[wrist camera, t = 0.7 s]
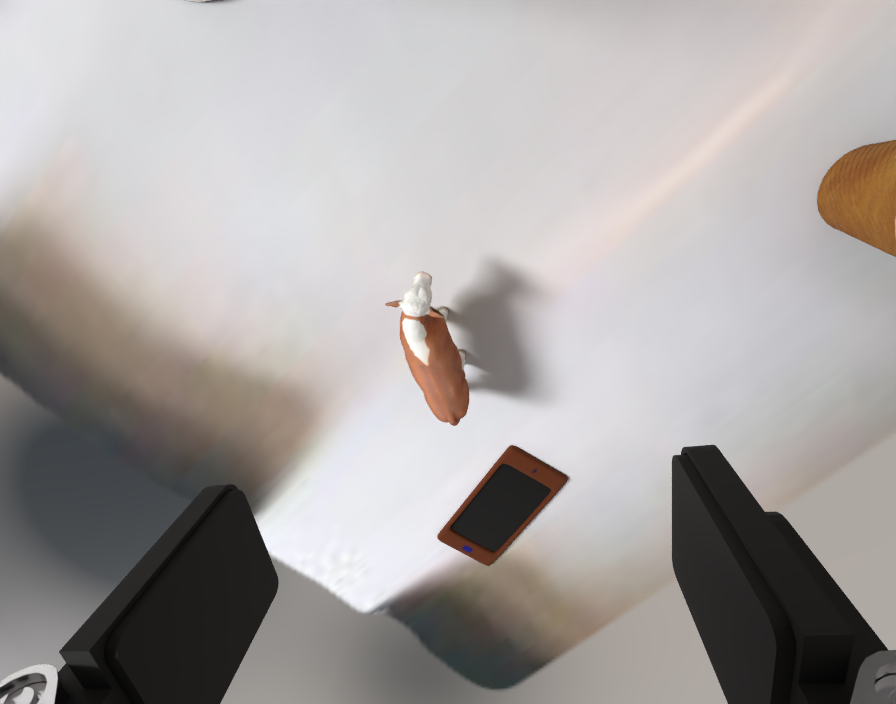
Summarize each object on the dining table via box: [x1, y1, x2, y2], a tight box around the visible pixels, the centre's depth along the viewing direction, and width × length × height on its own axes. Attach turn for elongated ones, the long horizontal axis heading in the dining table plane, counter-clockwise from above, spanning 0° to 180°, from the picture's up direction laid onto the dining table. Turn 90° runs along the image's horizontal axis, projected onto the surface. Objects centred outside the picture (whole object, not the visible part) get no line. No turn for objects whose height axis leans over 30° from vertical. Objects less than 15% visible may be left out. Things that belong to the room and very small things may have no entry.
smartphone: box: [438, 445, 567, 566], centre depth 51 cm, size 7×1×15 cm
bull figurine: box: [385, 272, 469, 426], centre depth 40 cm, size 4×13×8 cm, turn 14°
